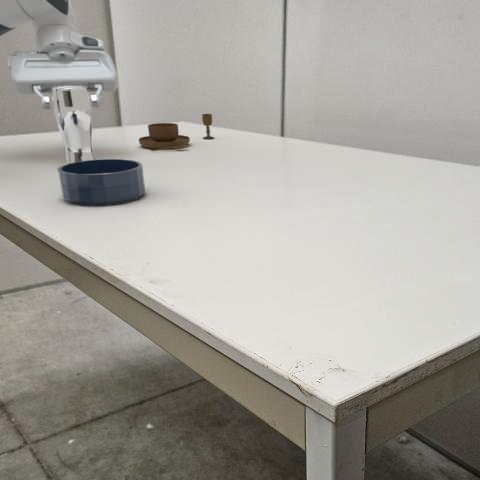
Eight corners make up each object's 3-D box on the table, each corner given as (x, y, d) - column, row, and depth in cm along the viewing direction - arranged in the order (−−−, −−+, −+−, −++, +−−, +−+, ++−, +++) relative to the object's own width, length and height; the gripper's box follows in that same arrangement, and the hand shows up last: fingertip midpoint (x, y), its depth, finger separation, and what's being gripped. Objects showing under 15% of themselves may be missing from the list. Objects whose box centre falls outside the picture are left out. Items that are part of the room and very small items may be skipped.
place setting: (133, 141, 153) (130, 116, 151) (211, 137, 161) (210, 113, 159) (146, 153, 139) (143, 126, 137) (231, 147, 147) (230, 121, 144)
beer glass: (56, 167, 124) (42, 88, 118) (74, 160, 131) (62, 85, 124) (88, 168, 123) (76, 88, 117) (105, 162, 130) (94, 85, 123)
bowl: (56, 208, 96) (50, 176, 94) (70, 189, 107) (65, 160, 105) (142, 204, 98) (139, 173, 96) (147, 186, 110) (144, 157, 108)
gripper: (3, 40, 122) (12, 97, 118) (110, 40, 129) (123, 93, 126) (8, 63, 128) (17, 118, 124) (111, 62, 135) (123, 114, 131)
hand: (71, 106), depth 125 cm, fingers open, 8 cm apart
